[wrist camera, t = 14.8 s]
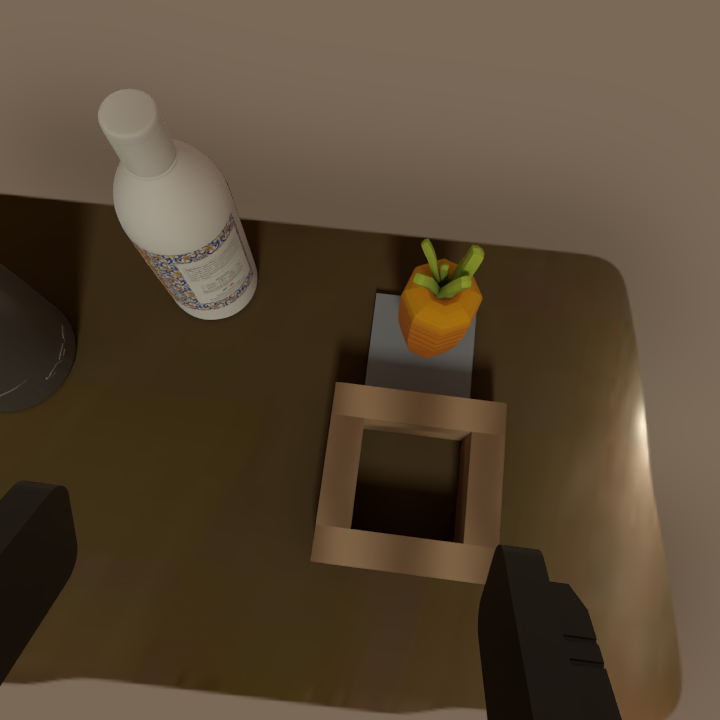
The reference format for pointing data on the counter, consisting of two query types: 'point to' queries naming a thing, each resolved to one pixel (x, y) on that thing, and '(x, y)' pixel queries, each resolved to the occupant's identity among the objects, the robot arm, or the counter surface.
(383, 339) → the plate
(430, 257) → the carrot
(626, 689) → the counter surface
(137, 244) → the bath foam
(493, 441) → the holder
